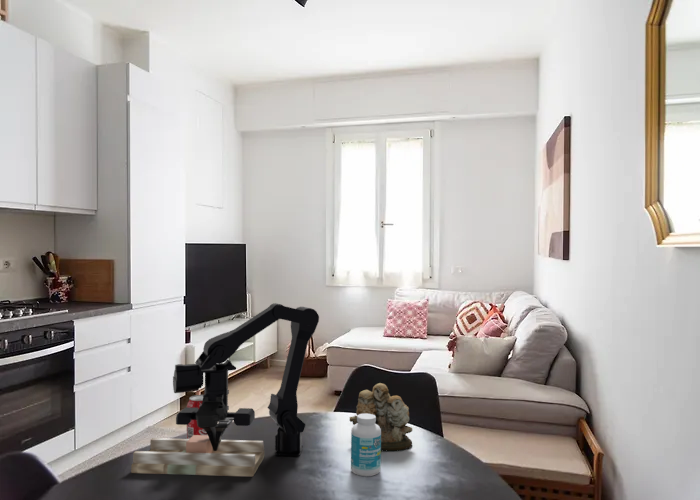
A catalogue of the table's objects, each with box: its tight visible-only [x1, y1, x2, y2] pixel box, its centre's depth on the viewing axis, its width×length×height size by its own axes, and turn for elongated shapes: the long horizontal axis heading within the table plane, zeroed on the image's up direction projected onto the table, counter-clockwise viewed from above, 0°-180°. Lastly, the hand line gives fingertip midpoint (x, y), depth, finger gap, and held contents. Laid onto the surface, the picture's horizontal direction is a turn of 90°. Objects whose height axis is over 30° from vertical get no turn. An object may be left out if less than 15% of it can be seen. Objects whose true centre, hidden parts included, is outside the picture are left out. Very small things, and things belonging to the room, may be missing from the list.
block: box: [186, 435, 212, 453], centre depth 124 cm, size 5×5×4 cm
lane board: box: [130, 437, 265, 477], centre depth 124 cm, size 30×12×4 cm, turn 87°
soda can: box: [186, 394, 208, 439], centre depth 143 cm, size 7×7×12 cm
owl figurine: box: [349, 382, 413, 453], centre depth 140 cm, size 18×12×17 cm, turn 83°
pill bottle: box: [350, 413, 382, 477], centre depth 121 cm, size 8×7×14 cm
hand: (215, 450), depth 124 cm, fingers closed
